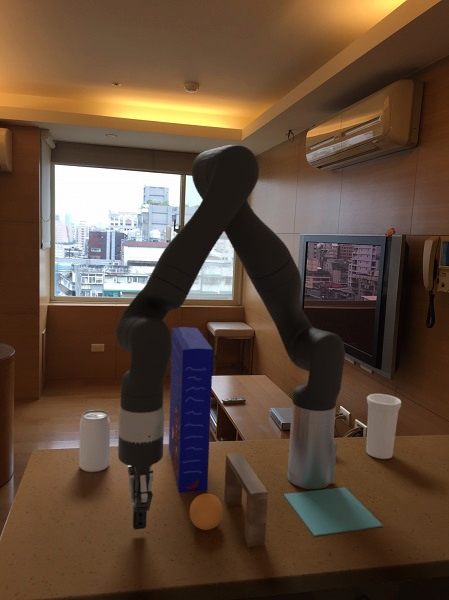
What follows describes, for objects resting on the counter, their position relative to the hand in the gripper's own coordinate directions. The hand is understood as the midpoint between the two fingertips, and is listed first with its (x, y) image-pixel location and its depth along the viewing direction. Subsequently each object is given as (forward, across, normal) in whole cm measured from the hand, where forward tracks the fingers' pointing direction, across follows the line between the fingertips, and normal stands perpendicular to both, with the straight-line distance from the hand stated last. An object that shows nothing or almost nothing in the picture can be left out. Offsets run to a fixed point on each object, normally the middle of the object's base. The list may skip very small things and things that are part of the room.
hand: (139, 526), depth 85 cm
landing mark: (+2, 0, -37) cm, 37 cm away
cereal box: (+2, +23, -13) cm, 26 cm away
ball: (-2, 0, -12) cm, 12 cm away
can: (+2, +27, +7) cm, 28 cm away
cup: (+2, +20, -61) cm, 64 cm away
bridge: (+2, 0, -19) cm, 19 cm away
